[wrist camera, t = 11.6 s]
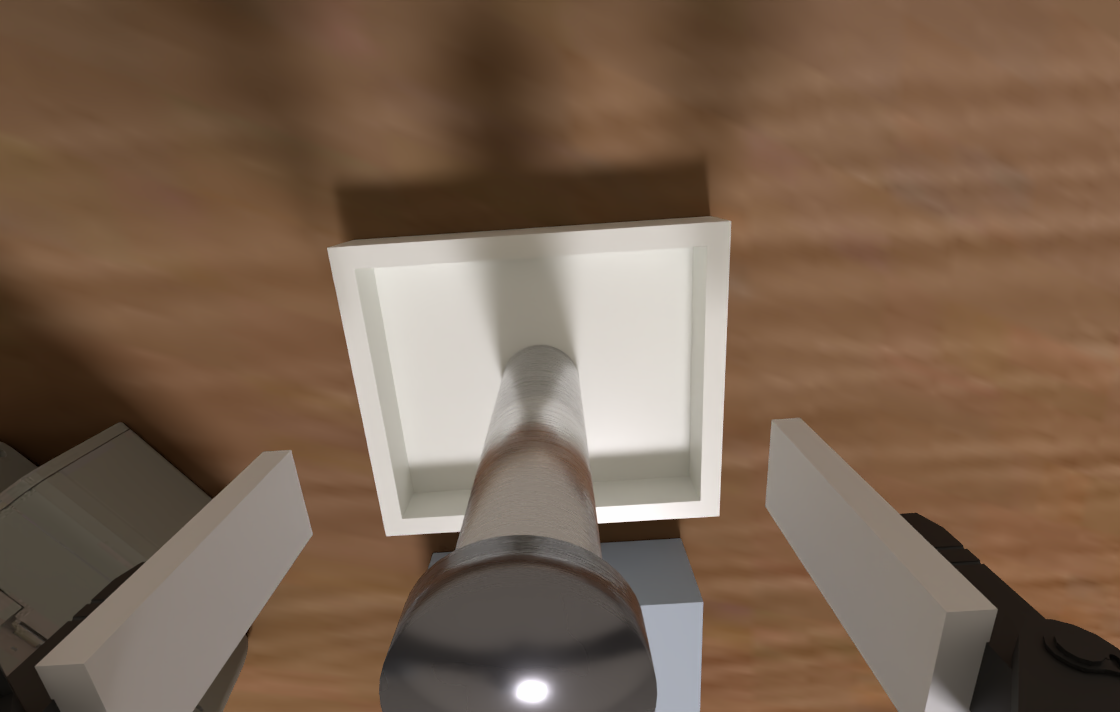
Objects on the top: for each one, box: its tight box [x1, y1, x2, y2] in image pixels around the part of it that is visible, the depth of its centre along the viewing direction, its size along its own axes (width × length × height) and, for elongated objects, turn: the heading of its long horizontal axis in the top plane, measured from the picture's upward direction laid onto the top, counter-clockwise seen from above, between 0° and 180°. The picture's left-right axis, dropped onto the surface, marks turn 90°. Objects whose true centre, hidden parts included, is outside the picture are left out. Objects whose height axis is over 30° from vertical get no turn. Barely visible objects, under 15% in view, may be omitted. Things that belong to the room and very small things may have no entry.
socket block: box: [428, 538, 703, 712], centre depth 25 cm, size 12×12×4 cm
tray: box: [327, 216, 731, 536], centre depth 21 cm, size 14×12×2 cm
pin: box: [379, 345, 657, 712], centre depth 15 cm, size 4×4×14 cm
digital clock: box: [0, 422, 248, 712], centre depth 20 cm, size 16×9×11 cm, turn 26°
